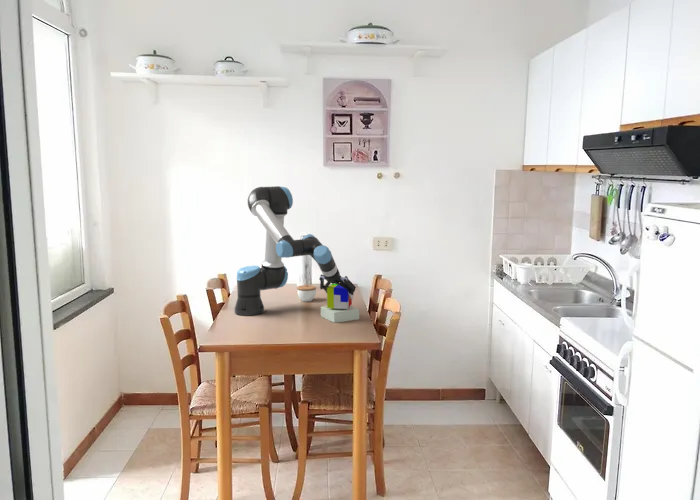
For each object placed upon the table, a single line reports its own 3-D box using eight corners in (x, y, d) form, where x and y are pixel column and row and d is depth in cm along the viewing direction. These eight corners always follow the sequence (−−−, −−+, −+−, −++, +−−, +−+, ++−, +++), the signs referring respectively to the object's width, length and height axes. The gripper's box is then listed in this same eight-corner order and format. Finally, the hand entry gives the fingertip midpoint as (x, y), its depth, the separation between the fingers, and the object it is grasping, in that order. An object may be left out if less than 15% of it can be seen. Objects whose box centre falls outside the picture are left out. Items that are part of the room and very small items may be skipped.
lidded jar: (313, 297, 317) (313, 281, 315) (318, 301, 307) (318, 285, 305) (295, 299, 313) (295, 282, 312) (299, 303, 303) (299, 286, 302)
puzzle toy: (347, 308, 266) (347, 288, 265) (327, 307, 268) (327, 287, 267) (351, 304, 276) (351, 284, 274) (332, 303, 278) (332, 283, 277)
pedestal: (320, 316, 275) (320, 306, 275) (345, 312, 282) (345, 303, 282) (334, 322, 263) (334, 312, 263) (359, 319, 270) (359, 309, 270)
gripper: (305, 275, 259) (318, 301, 276) (351, 279, 252) (362, 304, 268) (309, 263, 264) (322, 288, 280) (355, 265, 256) (365, 291, 272)
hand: (341, 296), depth 274 cm, fingers closed on puzzle toy, 11 cm apart
